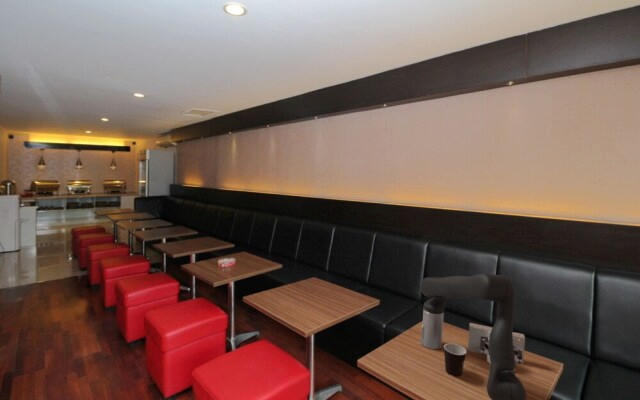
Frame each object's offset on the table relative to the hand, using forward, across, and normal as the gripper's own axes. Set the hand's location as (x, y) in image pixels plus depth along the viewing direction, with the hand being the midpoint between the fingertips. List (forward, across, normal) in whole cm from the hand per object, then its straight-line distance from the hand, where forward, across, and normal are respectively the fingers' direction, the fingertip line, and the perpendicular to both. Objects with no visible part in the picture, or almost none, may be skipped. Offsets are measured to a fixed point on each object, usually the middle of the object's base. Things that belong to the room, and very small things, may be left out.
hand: (499, 343), depth 126 cm
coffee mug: (-4, +15, +14) cm, 21 cm away
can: (+12, 0, +14) cm, 19 cm away
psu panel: (+18, 0, +14) cm, 23 cm away
